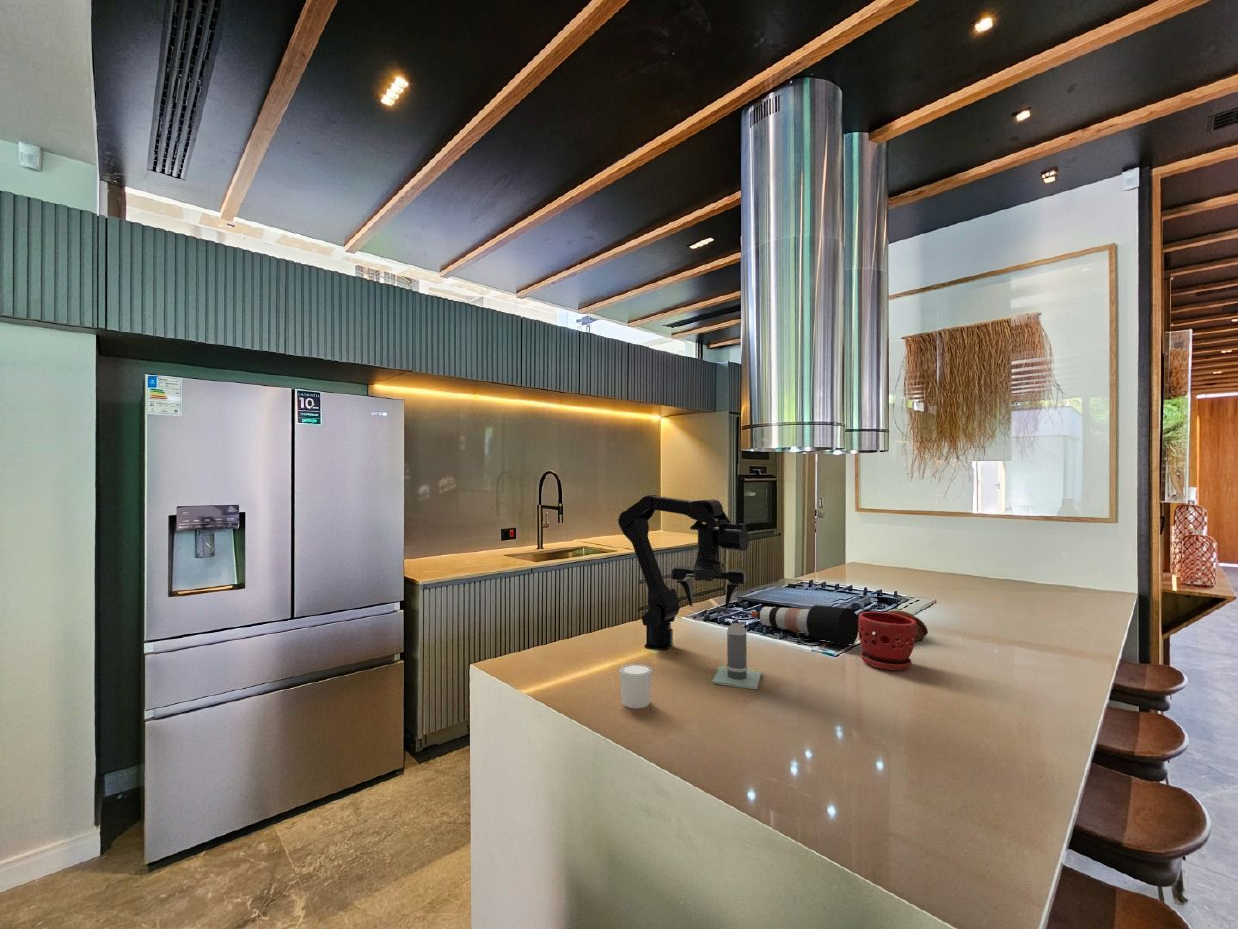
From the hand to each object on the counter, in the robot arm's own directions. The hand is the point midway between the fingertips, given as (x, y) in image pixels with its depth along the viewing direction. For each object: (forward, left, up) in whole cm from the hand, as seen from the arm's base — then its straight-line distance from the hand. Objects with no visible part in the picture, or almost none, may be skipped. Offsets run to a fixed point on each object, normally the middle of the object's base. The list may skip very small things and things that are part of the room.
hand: (708, 607), depth 142 cm
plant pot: (+43, +11, -13) cm, 46 cm away
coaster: (+9, -12, -13) cm, 20 cm away
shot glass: (-9, -33, -13) cm, 37 cm away
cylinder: (+9, -12, -12) cm, 19 cm away
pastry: (+49, +38, -13) cm, 64 cm away
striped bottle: (+21, +31, -13) cm, 40 cm away
